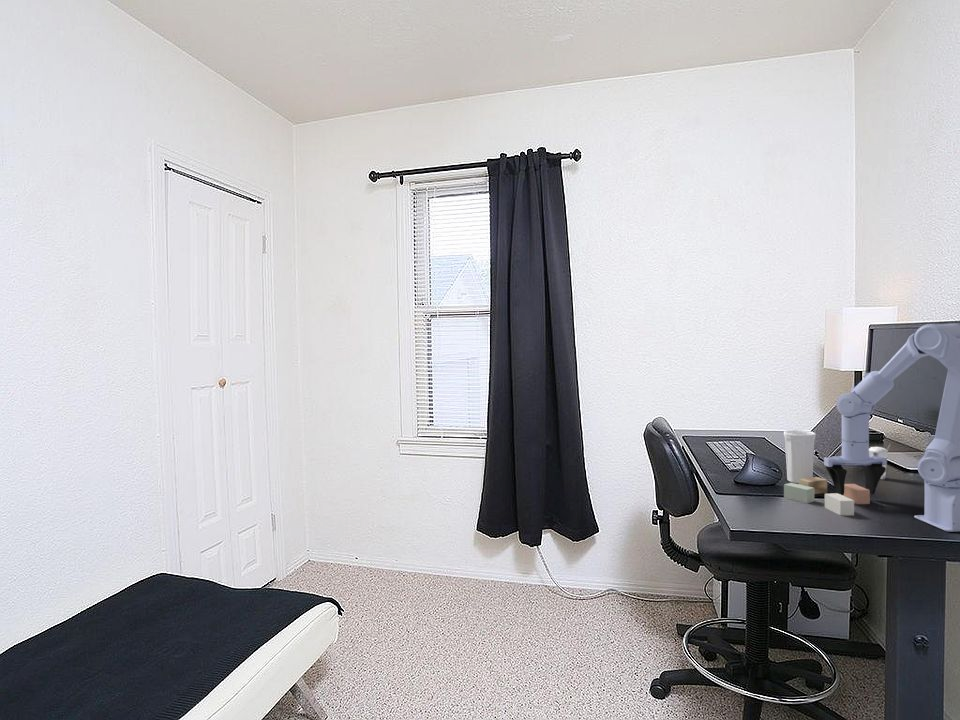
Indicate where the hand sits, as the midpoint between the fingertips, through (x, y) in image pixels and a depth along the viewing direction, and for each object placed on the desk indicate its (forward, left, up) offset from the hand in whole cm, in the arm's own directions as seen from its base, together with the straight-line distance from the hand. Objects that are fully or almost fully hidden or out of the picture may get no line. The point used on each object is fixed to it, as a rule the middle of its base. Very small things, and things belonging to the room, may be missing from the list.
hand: (855, 493), depth 141 cm
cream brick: (-8, +9, -2) cm, 12 cm away
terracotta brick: (0, 0, -2) cm, 2 cm away
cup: (+18, +4, -2) cm, 19 cm away
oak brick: (+8, +6, -2) cm, 10 cm away
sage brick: (+2, +13, -2) cm, 13 cm away
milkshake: (+20, -20, -2) cm, 28 cm away
